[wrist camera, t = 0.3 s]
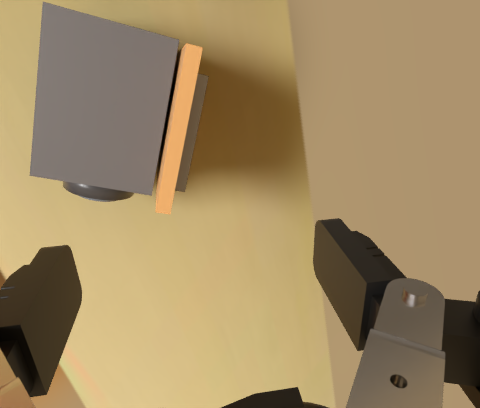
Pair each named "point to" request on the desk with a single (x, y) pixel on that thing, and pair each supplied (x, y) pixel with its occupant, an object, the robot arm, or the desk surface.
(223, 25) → the desk surface
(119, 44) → the camera housing
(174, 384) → the desk surface
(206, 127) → the desk surface
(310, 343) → the desk surface
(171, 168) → the side door
